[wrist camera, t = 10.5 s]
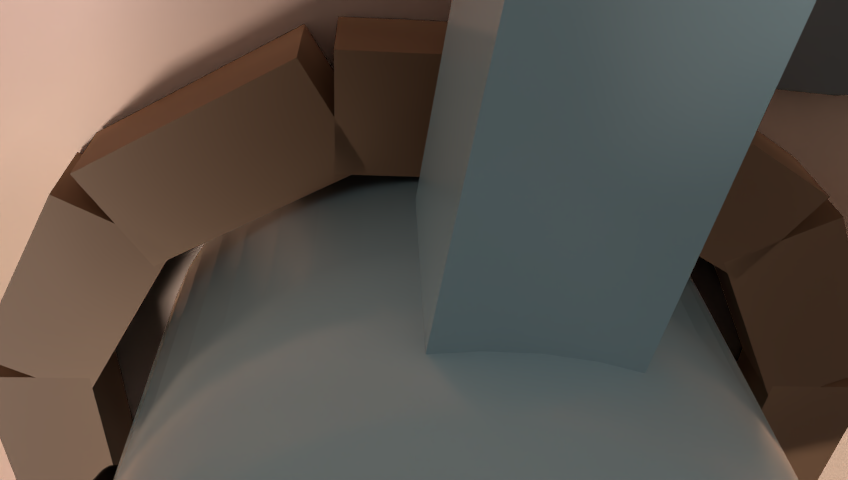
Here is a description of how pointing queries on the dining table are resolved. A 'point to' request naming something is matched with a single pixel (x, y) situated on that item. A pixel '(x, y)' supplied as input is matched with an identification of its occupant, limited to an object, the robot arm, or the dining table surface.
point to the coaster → (820, 52)
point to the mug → (495, 273)
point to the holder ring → (324, 165)
